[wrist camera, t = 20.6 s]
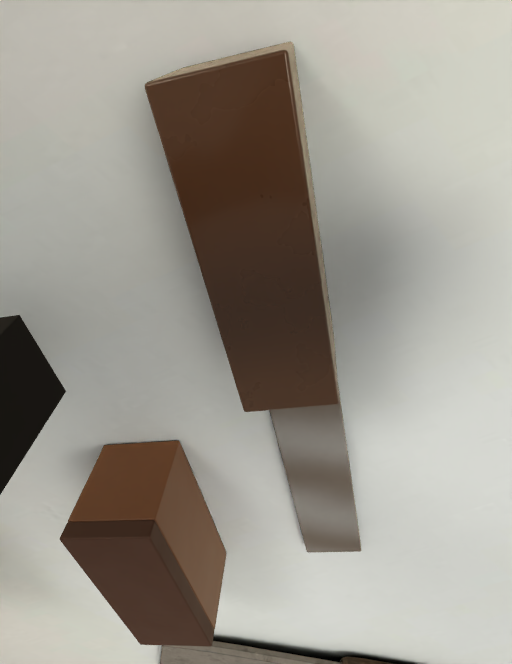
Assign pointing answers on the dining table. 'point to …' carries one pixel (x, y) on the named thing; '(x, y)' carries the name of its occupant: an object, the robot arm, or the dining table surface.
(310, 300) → the knife
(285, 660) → the cleaver
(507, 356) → the dining table surface
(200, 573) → the cake slice
